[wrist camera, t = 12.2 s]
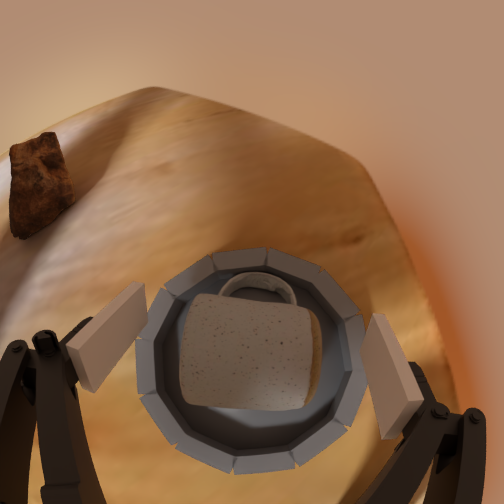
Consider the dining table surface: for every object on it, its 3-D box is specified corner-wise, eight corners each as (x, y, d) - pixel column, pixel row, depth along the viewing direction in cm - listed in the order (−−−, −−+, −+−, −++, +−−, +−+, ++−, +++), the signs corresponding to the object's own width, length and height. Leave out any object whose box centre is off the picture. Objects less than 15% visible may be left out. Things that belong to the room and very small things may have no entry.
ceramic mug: (303, 406, 18) (324, 417, 12) (198, 399, 19) (168, 406, 12) (306, 280, 23) (324, 236, 16) (211, 276, 23) (192, 230, 17)
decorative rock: (83, 172, 31) (45, 114, 21) (91, 200, 29) (46, 137, 19) (20, 221, 28) (-25, 176, 19) (23, 253, 26) (-32, 208, 16)
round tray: (118, 334, 22) (101, 327, 19) (271, 230, 26) (273, 212, 23) (229, 494, 16) (225, 508, 13) (392, 372, 20) (409, 370, 17)
